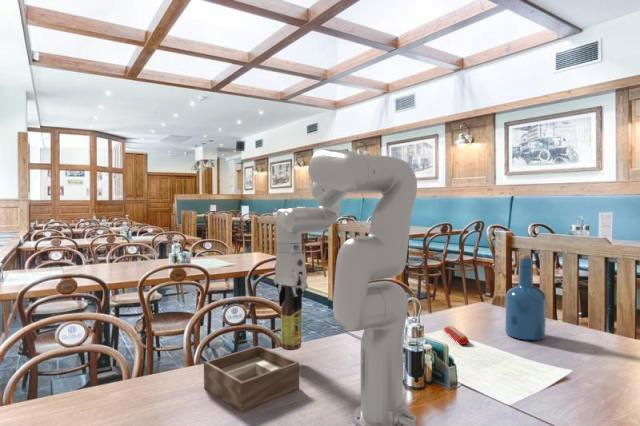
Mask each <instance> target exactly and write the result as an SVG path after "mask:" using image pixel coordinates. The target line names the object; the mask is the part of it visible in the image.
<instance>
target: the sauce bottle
mask: <svg viewBox="0 0 640 426" xmlns="http://www.w3.org/2000/svg"><path fill="white" fill-rule="evenodd" d="M296 290H298V288H296ZM293 296H294V294H293V290H292V287H290V286H285V300H284V301H283V303H282V306H280V308H281V314H280V342H281V348H282V350H285V351H296V350H298V349H301V348H302V308H301V309H297V310H293V301H292V298H293Z"/></svg>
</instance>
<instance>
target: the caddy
mask: <svg viewBox="0 0 640 426" xmlns="http://www.w3.org/2000/svg"><path fill="white" fill-rule="evenodd" d="M203 389H205V390H207V391H208V392H209V393H211V394H213V395H214V396H215V397H217V398H219V399H220V400H222V401H224V402H225V403H227V404H228V405H229V406H231V407H232V408H234V409H236V410H237V411H238V412H240V413H241V414H242V413H245V412H247V411H250V410H251V409H254V408H256V407H260V406H261V405H263V404H265V403H268V402H270V401H273V400H275V399H277V398H280V397H283V396H284V395H287V394H290V393H292V392H294V391H297V390H299V389H300V362H299V361H296V360H294V359H291V358H290V357H287V356H285V355H282V354H280V353H278V352H275V351H273V350H271V349H269V348H267V347H263V346H261V345H256V346H253V347H249V348H246V349H242V350H240V351H236V352H233V353H230V354H226V355H223V356H219V357H216V358H213V359H209V360H207V361H203Z"/></svg>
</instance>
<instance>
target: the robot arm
mask: <svg viewBox="0 0 640 426" xmlns="http://www.w3.org/2000/svg"><path fill="white" fill-rule="evenodd" d="M307 170H308V176H309V179H311V181H312V183H313V184H312V186H311V194H312V197H313V199H314V201H315V202H317V204H318V205H320V206H317V207H315V206H311V207H309V206H308V207H307V206H304V207H290V208H280V209H278V210H277V212H276V258H275V266H274V267H275V268H274V269H275V272H274V273H275V274H274V278H273V280H272V281H273V283H274V284H275V287H276V289H277V293H278V302H279V303H278V306H279V307H282V303H283V301H284V300H285V286H290V287H292V290H293V294H294V296H293V298H292V301H293V310H297V309H301V310H302V306H303V298H302V297H303V296H304V294H305V291H306V290H307V288H308V287H309V284H308V282H307V269H306V261H305V255H304V253H302V250H303V246H302V234H309V233H310V234H311V233H314V234H315V233H322V232H324V231H326V230H328V229H329V228H331V227H332V226H333V224H335V223H336V222H337V220H338V219H339V217H340V214H341V201H342V200H343V199H344V198H345V197H346V196H347V195H348V194H381V195H382V197H381V198H380V199H379V200H378V202H377V203H376V205H375V207H374V209H373V211H372V214H371V220H370V229H369V230H370V231H369V233H368V235H362V236H354V237H351V238H349V239H347V240H346V241H344V243H342V244H341V247H340V248H339V250H338V253H337V255H336V256H337V258H336V264H335V273H334V276H335V277H334V284H333V285H334V286H333V287H334V288H333V296H332V297H333V299H332V312H333V317H334V320H335V322H336V324H337V325H338V326H339V328H340V329H342V330H343V331H346V332H351V333H352V332H360V331H363V333H362V337H361V340H360V405H358V406H357V407H356V408H355V410H354V411H353V420H354V423H355V424H356V426H416V424H417V423H416V421H417V416H416V415H415V414H413V413H409V411H408V403H406V402H404V337H405V328H406V327H405V326H406V320H407V315H408V308H409V299H408V296H407V293H406V291H405V290H404V288H403V287H402V286H401V285H399V284H398V283H396V282H393V281H390V280H389V281H388V280H384V279H391V278H395V277H397V276H400V275H401V274H402V273H403V272H404V269H405V268H406V265H407V257H408V251H409V250H408V249H409V241H410V232H411V221H412V216H413V215H412V214H413V210H414V206H415V202H416V199H417V198H416V197H417V192H418V181H417V176H416V174H415V171H414V170H413V168H412V166H411V165H410V164H409V163H408V162H406V161H405V160H403V159H401V158H398V157H394V156H390V155H389V156H388V155H380V154H365V153H364V154H363V153H357V152H355V151H353V150H352V151H351V150H345V149H344V150H343V149H334V148H333V149H332V148H331V149H329V148H324V149H323V148H322V149H319V150H318V151H316V152H315V153H314V154H313V155H312V156H311V158H310V160H309V162H308V169H307ZM379 280H380V281H379ZM381 280H382V281H381ZM371 281H373V282H371ZM296 288H297V290H296Z"/></svg>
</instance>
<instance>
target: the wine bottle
mask: <svg viewBox="0 0 640 426" xmlns="http://www.w3.org/2000/svg"><path fill="white" fill-rule="evenodd" d="M518 267H519V275H518V277H519V278H518V284H517V285H516V286H514V287H511V288H509V289H508V290H507V292H506V294H505V317H504V318H505V320H504V321H505V322H504V323H505V328H504V329H505V333H506V335H507V334H508V336H509V335H510V336H509V337H511V336H512V338H513V337H515V338H514V339H516V338H518V339H517V340H520V339H524V340H523V341H527V340H537V341H541V340H540V339H542V338H543V339H545V338H546V316H547V315H546V314H547V312H546V311H547V306H546V305H547V303H546V301H547V299H546V294H545V292H544V291H542V289H540V288H538V287H537V286H535V285H533V259H532V258H531V254H528V253H526V254H525V253H524V254H521V257H520V258H519V266H518ZM543 339H542V340H543Z"/></svg>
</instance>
